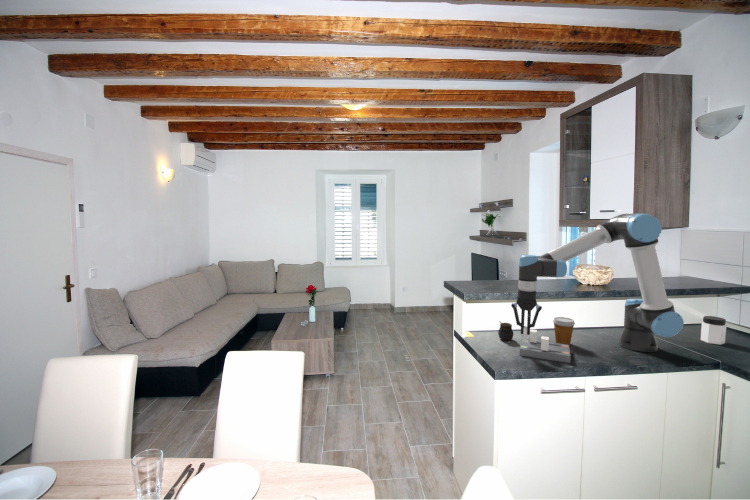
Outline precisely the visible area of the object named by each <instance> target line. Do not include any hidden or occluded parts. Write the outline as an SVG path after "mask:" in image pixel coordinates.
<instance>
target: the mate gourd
mask: <svg viewBox="0 0 750 500" xmlns="http://www.w3.org/2000/svg"><path fill="white" fill-rule="evenodd" d="M498 322H499V330H498V331H497V332H498V338H499V339H500V340H501V341H505V342H510V341H512V339H514V331H513V327H512V326H513V325H512V324H511V323H509V322H501V321H500V320H499V321H498Z"/></svg>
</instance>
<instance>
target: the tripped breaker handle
mask: <svg viewBox="0 0 750 500" xmlns="http://www.w3.org/2000/svg"><path fill="white" fill-rule="evenodd" d="M540 339H541V340H540V341H541V350H545V351H548V349H549V342H550V337H549V336H544V335H543V336H541V338H540Z"/></svg>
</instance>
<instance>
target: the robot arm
mask: <svg viewBox="0 0 750 500" xmlns="http://www.w3.org/2000/svg"><path fill="white" fill-rule="evenodd" d="M660 234H662V224H661V221H659V219H658V217H656V216H654V215H652V214H650V213H642V212H639V213H638V212H637V213H622V214H618V215H616V216H613V217H611V218H609V219H607V220H605V221H604V222H601V223H600V224H598V225H597V226H596V227H595V228H594V229H593V230H591V231H589V232H587V233H585V234H583V235H580V236H578V237H577V238H574V239H572V240H570V241H569V242H567V243H565V244H562V245H560V246H558V247H556V248H554V249H552V250H550V251H548V252H546V253H544V254H542V255H534V254H523V255H521V256H520V257H519V261H518V286H517V288H518V290H517V299H516V301H515V302H514V303H511V304H510V305H511V308H512V310H513V313H514V318H515V321H516V322H515V323H516V325H517V326H519V327H520V334H521V335H523V336H522V339H523V342H527V339H528V336H530V329H531V328H535V326H536V322H537V320H538V317H539V314H540V312H541V310H543V307H542V305H539V304H538V301H537V291H536V290H537V288H538V286H537V285H538V283H537V282H538V278H541V277H542V278H564V277H565V276H566V275H567V273H568V266H567V262H568V261H570V260H572V259H574V258H576V257H578V256H580V255H582V254H585V253H587V252H589V251H591V250H593V249H595V248H597V247H599V246H601V245H604V244H610V243H613V242H616V241H621V240H623V242H624V246H625V248H626V249H628V250H630V254H631V257H632V262H633V267H634V270H635V274H636V278H637V282H638V286H639V287H638V288H639V291H640V294H641V295H640V296H641V298H628V299H625V303H624V314H623V315H624V318H623V320H624V321H623V329H622V331H621V334H620V336H619V337H618V345H619V346H620V347H622V348H624V349H627V350H631V351H635V352H641V353H642V352H644V353H654V352H658V348H659V347H658V345H659V344H658V341H657V339H656V336H660V337H662V338H672V337H674V336H677V335H678V334H679V333H680V332H681V331H682V330H683V327H684V323H685V322H684V319H683V317H682V315H681V314H680V313H678V312H676V311H675V307H674V303H673V301H671V300H669V299H668V296H667V292H666V287H665V283H664V279H663V278H664V277H663V275H662V271H661V267H660V263H659V262H660V261H659V257H658V254H657V250H656V246H657V245H658V243H659V237H660V236H661V235H660ZM518 307H519V308H520V310H521V312H520V313H521V317H520V316H519V313H518V309H517V308H518ZM533 309H535V313H534V316H533V320H532V321H531V317H532V316H531V315H532V311H533ZM526 311H527V319H526V322H527V323H526V325H525V314H526Z"/></svg>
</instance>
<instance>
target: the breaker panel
mask: <svg viewBox="0 0 750 500" xmlns="http://www.w3.org/2000/svg"><path fill="white" fill-rule="evenodd" d="M519 356H521V357H522V356H523V357H528V358H535V359H542V360H548V361H555V362H562V363H567V364H568V363H569V364H570V363H571V351H570V345H566V344H559V343H556V342H550V341H549V349H548V351H545V350H541V340H537V343H534V342H530V339H528V338H527V342H523V338H521V343H520V346H519Z"/></svg>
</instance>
